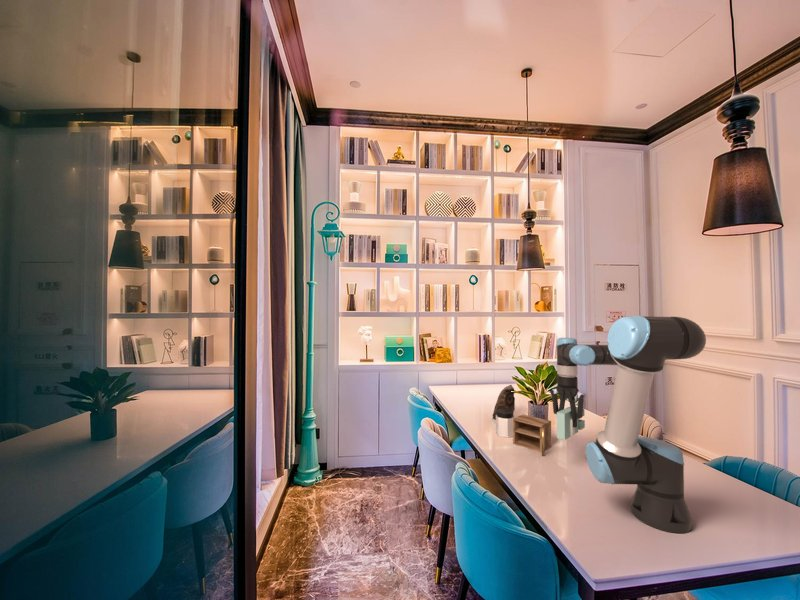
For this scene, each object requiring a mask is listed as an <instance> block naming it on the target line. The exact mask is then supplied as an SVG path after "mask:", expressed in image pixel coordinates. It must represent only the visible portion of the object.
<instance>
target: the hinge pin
mask: <svg viewBox="0 0 800 600" xmlns="http://www.w3.org/2000/svg"><path fill="white" fill-rule="evenodd" d="M545 451H546V450H545V428H542V452H541V456H542V457H546V456H545V455H546V453H545Z"/></svg>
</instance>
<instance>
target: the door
mask: <svg viewBox="0 0 800 600" xmlns="http://www.w3.org/2000/svg"><path fill="white" fill-rule="evenodd" d="M577 409H578V406H576V411H577ZM583 417H585V408H584V407H583V414H582V418H583ZM570 419H572V414H571V408H570V406H568V407H565V408H564V409H563V410H561V411H559V412H557V415H556V439H560V440H563V441H566V440H568V439H569V438H571V437H572V436H570ZM585 422H586V421H585V420H584V419H581V418H580V419H577V427H576V428H575V435H576V434H578V433H579V431H582V430H583V429H584V428H585V427H586V425H585V424H586V423H585Z"/></svg>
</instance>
